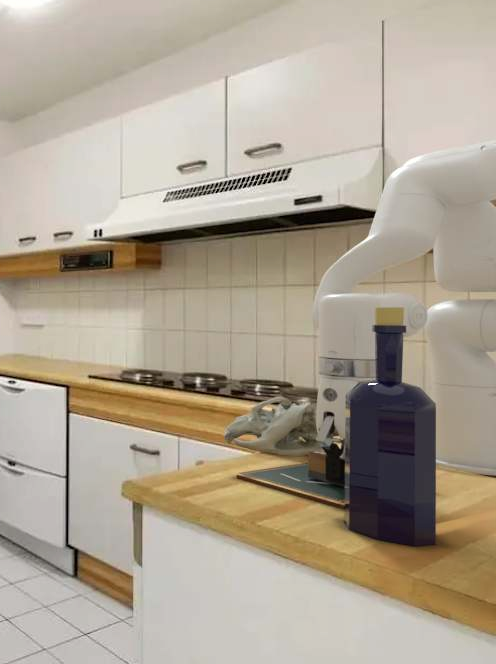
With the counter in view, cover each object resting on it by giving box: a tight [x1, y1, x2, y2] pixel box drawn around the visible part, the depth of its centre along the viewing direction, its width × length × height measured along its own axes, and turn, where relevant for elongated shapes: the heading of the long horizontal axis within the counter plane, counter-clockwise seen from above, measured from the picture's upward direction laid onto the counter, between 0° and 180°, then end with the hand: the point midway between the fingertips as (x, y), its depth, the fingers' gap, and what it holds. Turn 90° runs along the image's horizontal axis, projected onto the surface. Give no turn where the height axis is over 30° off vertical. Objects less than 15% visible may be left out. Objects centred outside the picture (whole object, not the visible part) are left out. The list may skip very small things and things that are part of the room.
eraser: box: [307, 449, 345, 487], centre depth 89 cm, size 4×9×4 cm, turn 20°
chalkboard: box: [236, 462, 345, 511], centre depth 92 cm, size 22×16×1 cm
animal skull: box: [223, 396, 323, 457], centre depth 113 cm, size 18×12×13 cm
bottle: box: [343, 307, 438, 547], centre depth 73 cm, size 9×9×30 cm
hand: (348, 479), depth 89 cm, fingers closed on eraser, 4 cm apart
